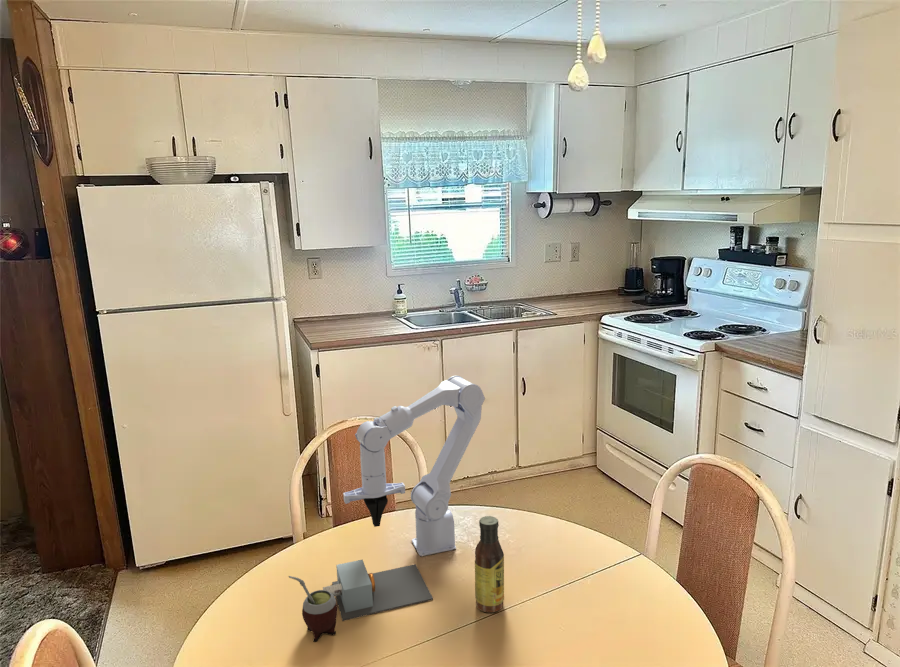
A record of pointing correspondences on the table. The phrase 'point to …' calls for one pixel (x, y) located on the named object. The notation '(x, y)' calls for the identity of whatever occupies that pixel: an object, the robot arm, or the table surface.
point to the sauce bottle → (489, 567)
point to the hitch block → (354, 585)
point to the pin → (337, 588)
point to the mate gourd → (319, 611)
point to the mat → (392, 592)
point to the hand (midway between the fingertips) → (376, 524)
